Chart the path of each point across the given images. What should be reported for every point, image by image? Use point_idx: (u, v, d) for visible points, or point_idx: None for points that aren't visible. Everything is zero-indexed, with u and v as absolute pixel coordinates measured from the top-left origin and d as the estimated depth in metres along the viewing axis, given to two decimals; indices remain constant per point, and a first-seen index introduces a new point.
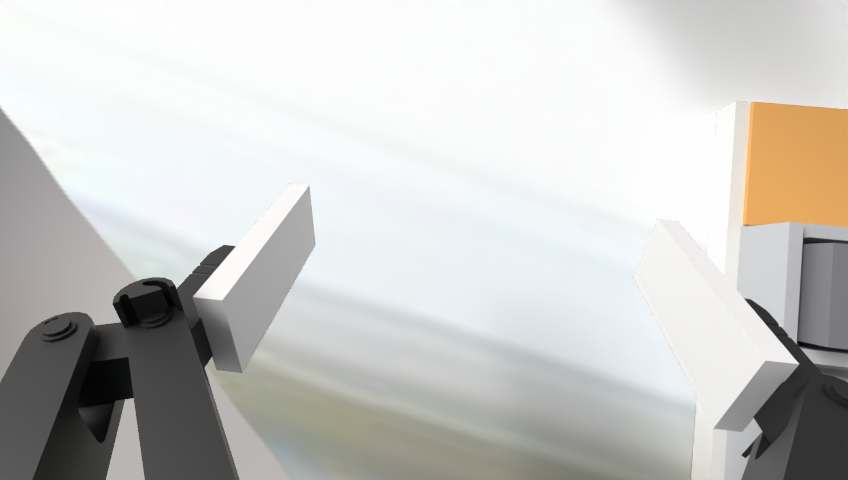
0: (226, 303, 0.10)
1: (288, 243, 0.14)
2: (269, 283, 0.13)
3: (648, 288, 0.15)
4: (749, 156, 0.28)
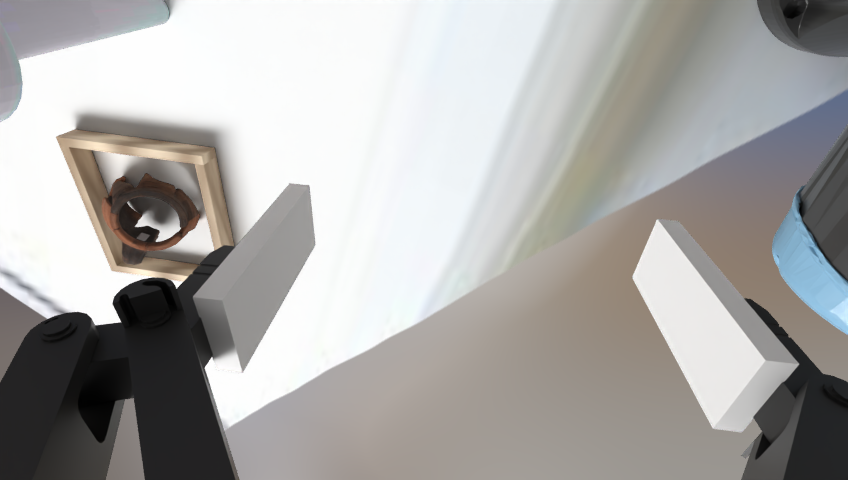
0: (226, 303, 0.10)
1: (288, 243, 0.14)
2: (269, 283, 0.13)
3: (648, 288, 0.15)
4: None
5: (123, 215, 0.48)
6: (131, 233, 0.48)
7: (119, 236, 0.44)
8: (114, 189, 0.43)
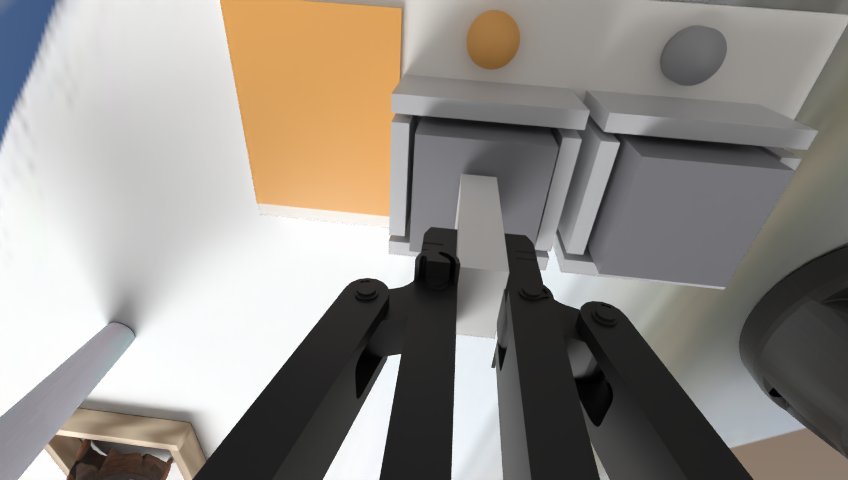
0: (481, 272, 0.12)
1: None
2: None
3: None
4: (319, 209, 0.25)
5: None
6: None
7: None
8: (77, 474, 0.42)
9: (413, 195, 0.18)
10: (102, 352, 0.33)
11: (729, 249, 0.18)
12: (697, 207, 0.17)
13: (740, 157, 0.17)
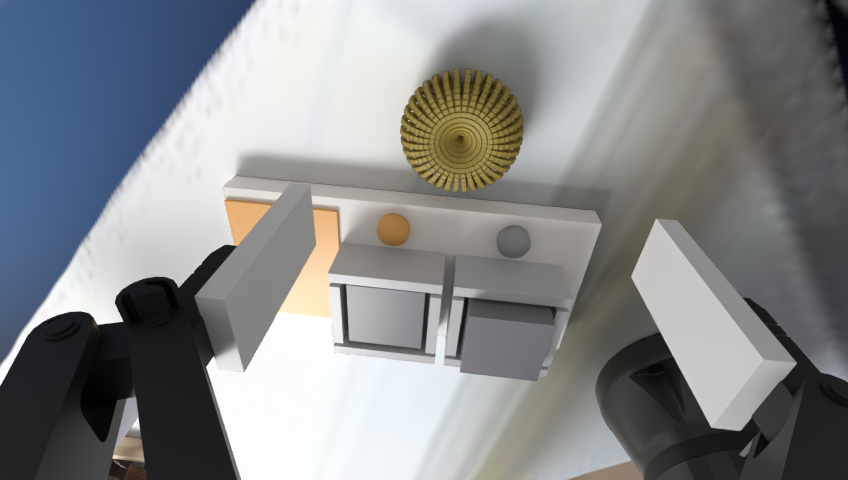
0: (228, 302, 0.10)
1: (289, 243, 0.14)
2: (270, 283, 0.13)
3: (647, 287, 0.15)
4: (292, 313, 0.37)
5: None
6: None
7: None
8: None
9: (348, 313, 0.31)
10: None
11: (532, 361, 0.30)
12: (507, 340, 0.29)
13: (530, 313, 0.29)
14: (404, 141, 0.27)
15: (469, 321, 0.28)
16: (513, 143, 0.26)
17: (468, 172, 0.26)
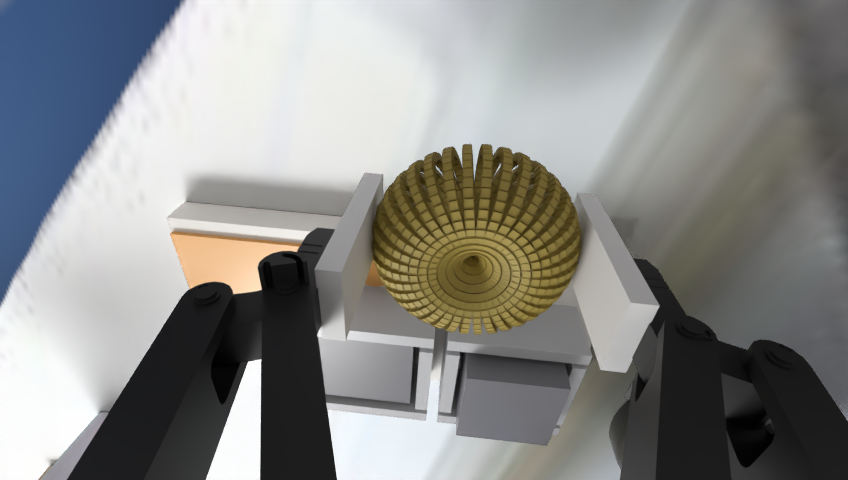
0: (342, 275, 0.11)
1: (371, 227, 0.15)
2: (361, 262, 0.14)
3: None
4: None
5: None
6: None
7: None
8: None
9: (323, 366, 0.26)
10: None
11: (542, 426, 0.25)
12: (512, 404, 0.24)
13: (540, 371, 0.24)
14: (377, 261, 0.16)
15: (466, 383, 0.23)
16: (565, 272, 0.15)
17: (486, 316, 0.15)
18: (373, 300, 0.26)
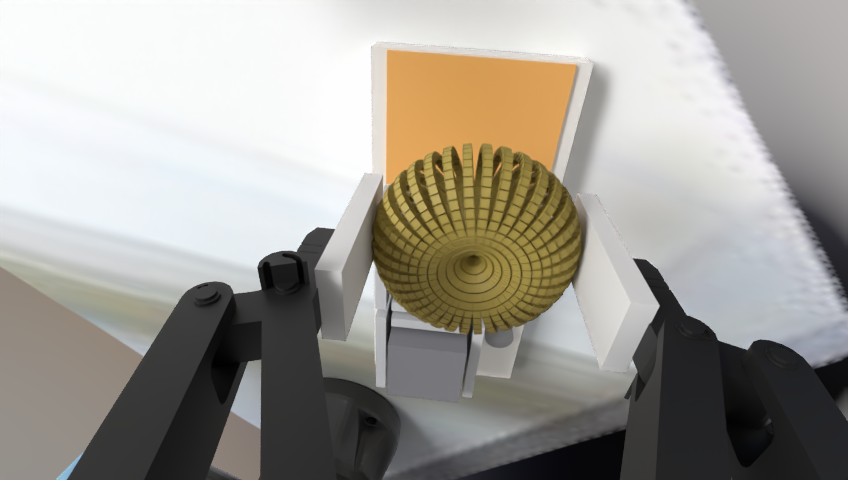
0: (342, 275, 0.11)
1: (371, 227, 0.15)
2: (361, 262, 0.14)
3: None
4: (386, 116, 0.26)
5: None
6: None
7: None
8: None
9: None
10: None
11: (412, 391, 0.33)
12: (437, 376, 0.31)
13: None
14: (377, 260, 0.16)
15: (460, 353, 0.30)
16: (565, 272, 0.15)
17: (486, 316, 0.15)
18: None
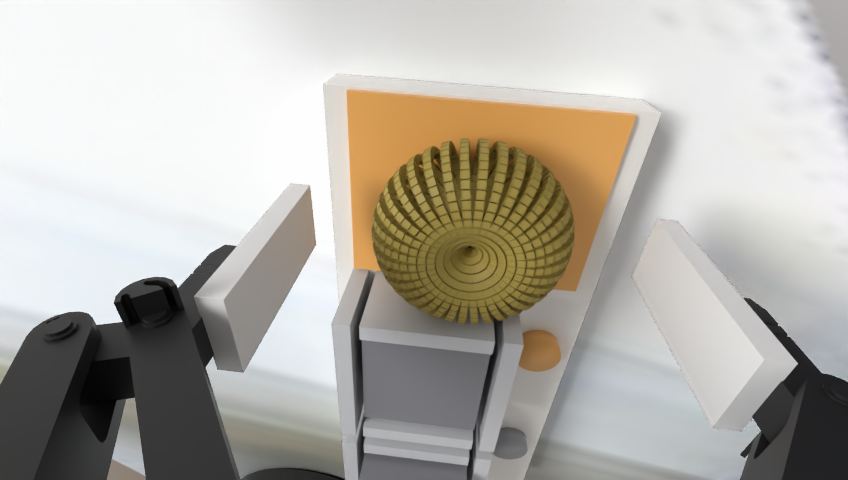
0: (227, 303, 0.10)
1: (289, 243, 0.14)
2: (270, 283, 0.13)
3: (648, 288, 0.15)
4: (350, 182, 0.18)
5: None
6: None
7: None
8: None
9: (428, 348, 0.18)
10: None
11: None
12: None
13: None
14: (377, 251, 0.16)
15: None
16: (559, 262, 0.15)
17: (482, 305, 0.16)
18: None
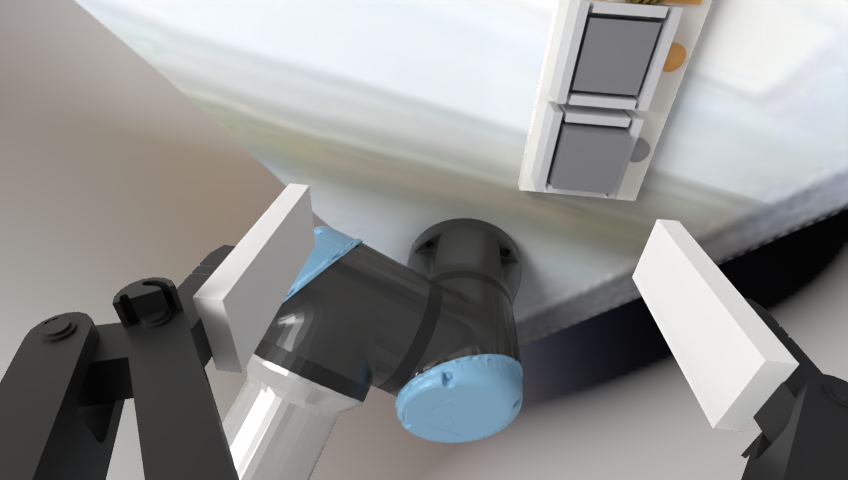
0: (226, 303, 0.10)
1: (288, 243, 0.14)
2: (269, 283, 0.13)
3: (648, 288, 0.15)
4: None
5: None
6: None
7: None
8: None
9: (626, 21, 0.34)
10: None
11: (575, 183, 0.40)
12: (600, 164, 0.39)
13: None
14: None
15: (626, 137, 0.37)
16: None
17: None
18: None
